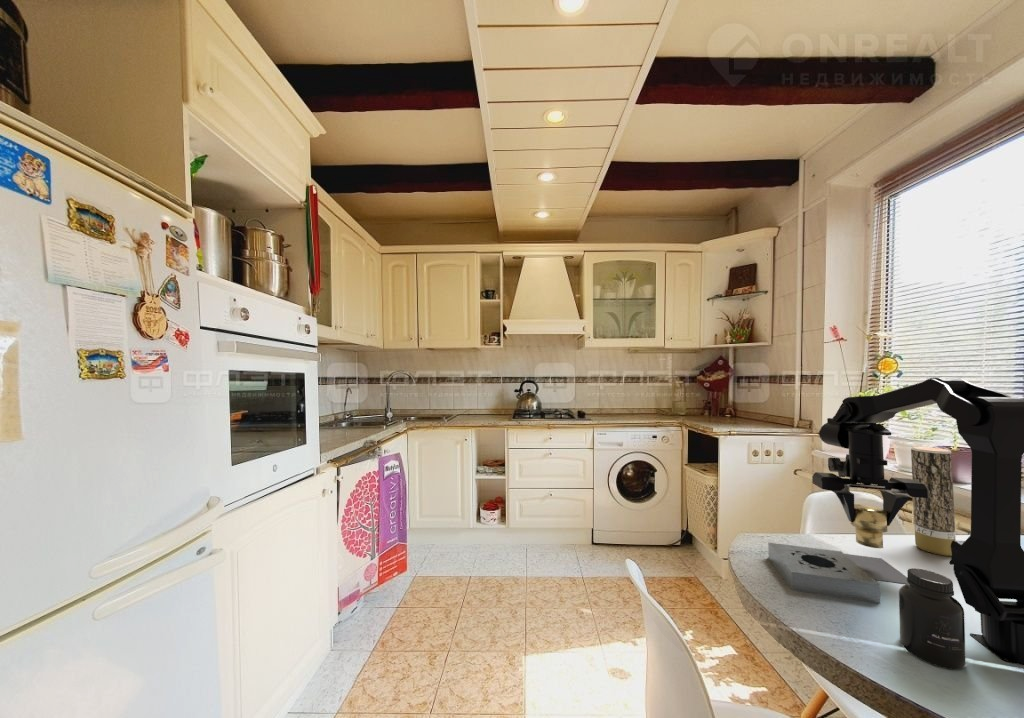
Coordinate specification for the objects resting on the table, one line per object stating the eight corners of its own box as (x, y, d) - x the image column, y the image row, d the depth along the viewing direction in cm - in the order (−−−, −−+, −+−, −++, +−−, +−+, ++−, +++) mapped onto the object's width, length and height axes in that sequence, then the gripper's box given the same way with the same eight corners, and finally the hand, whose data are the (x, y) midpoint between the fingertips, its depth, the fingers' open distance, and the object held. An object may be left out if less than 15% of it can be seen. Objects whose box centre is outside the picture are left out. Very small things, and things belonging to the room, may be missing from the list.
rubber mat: (918, 588, 77) (917, 585, 77) (857, 579, 80) (857, 576, 80) (881, 560, 88) (881, 558, 88) (829, 554, 91) (829, 551, 91)
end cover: (895, 551, 80) (893, 514, 81) (860, 547, 82) (858, 511, 83) (878, 540, 86) (876, 506, 86) (845, 536, 88) (844, 503, 88)
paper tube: (941, 546, 96) (936, 447, 97) (965, 558, 89) (959, 452, 90) (908, 543, 98) (903, 445, 99) (928, 555, 91) (924, 450, 92)
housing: (880, 606, 71) (879, 584, 71) (792, 592, 75) (791, 571, 75) (841, 569, 84) (841, 551, 84) (768, 559, 88) (768, 542, 88)
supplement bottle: (948, 676, 54) (944, 590, 55) (889, 643, 61) (886, 567, 61) (978, 666, 56) (974, 583, 56) (918, 636, 62) (914, 562, 63)
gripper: (894, 449, 90) (897, 515, 89) (801, 444, 96) (803, 507, 95) (929, 458, 79) (933, 534, 78) (822, 452, 85) (824, 523, 84)
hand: (868, 523), depth 84 cm, fingers closed on end cover, 6 cm apart
